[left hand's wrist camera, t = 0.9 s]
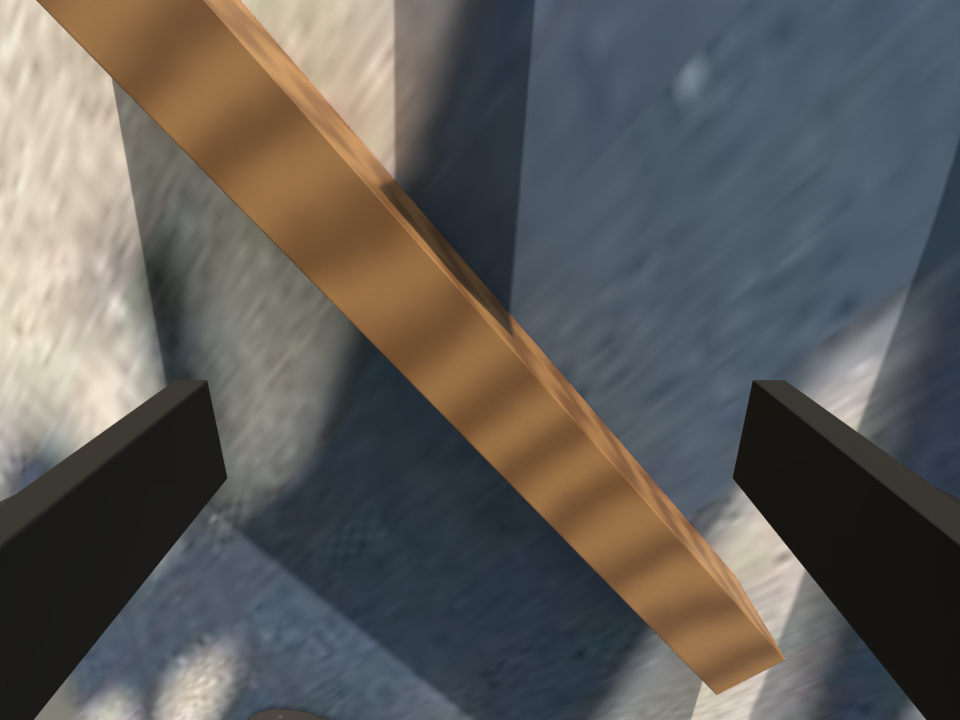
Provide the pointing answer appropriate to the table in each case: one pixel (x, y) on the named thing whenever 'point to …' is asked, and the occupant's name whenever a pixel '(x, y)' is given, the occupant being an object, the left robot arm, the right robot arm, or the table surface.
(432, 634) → the table surface
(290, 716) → the headphones
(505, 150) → the table surface
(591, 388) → the table surface
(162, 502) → the left robot arm
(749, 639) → the post
